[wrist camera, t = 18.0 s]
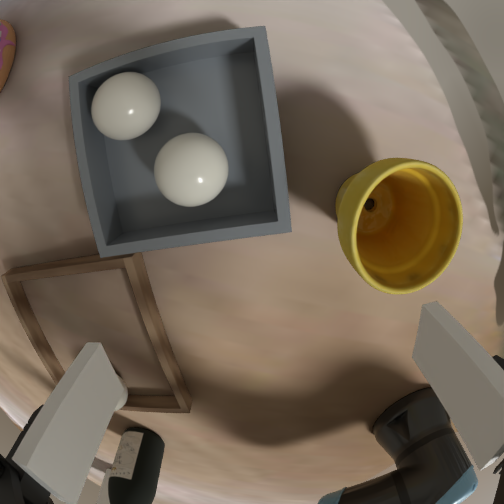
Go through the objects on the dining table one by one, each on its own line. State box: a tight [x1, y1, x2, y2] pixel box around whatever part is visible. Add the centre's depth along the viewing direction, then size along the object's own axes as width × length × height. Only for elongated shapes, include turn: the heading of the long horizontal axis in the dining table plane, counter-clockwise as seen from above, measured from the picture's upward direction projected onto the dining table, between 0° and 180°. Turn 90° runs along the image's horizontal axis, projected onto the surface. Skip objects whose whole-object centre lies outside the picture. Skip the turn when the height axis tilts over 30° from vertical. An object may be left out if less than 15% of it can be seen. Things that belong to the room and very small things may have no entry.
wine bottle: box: [108, 428, 165, 504], centre depth 28 cm, size 8×8×30 cm
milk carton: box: [96, 468, 111, 504], centre depth 42 cm, size 7×7×19 cm
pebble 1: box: [91, 72, 161, 140], centre depth 20 cm, size 6×6×6 cm
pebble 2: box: [114, 374, 128, 411], centre depth 33 cm, size 6×6×6 cm
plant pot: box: [335, 158, 463, 294], centre depth 23 cm, size 10×10×10 cm
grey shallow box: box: [69, 26, 292, 258], centre depth 23 cm, size 17×17×5 cm
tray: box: [1, 252, 192, 413], centre depth 32 cm, size 24×22×2 cm
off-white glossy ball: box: [154, 133, 229, 207], centre depth 22 cm, size 6×6×6 cm
